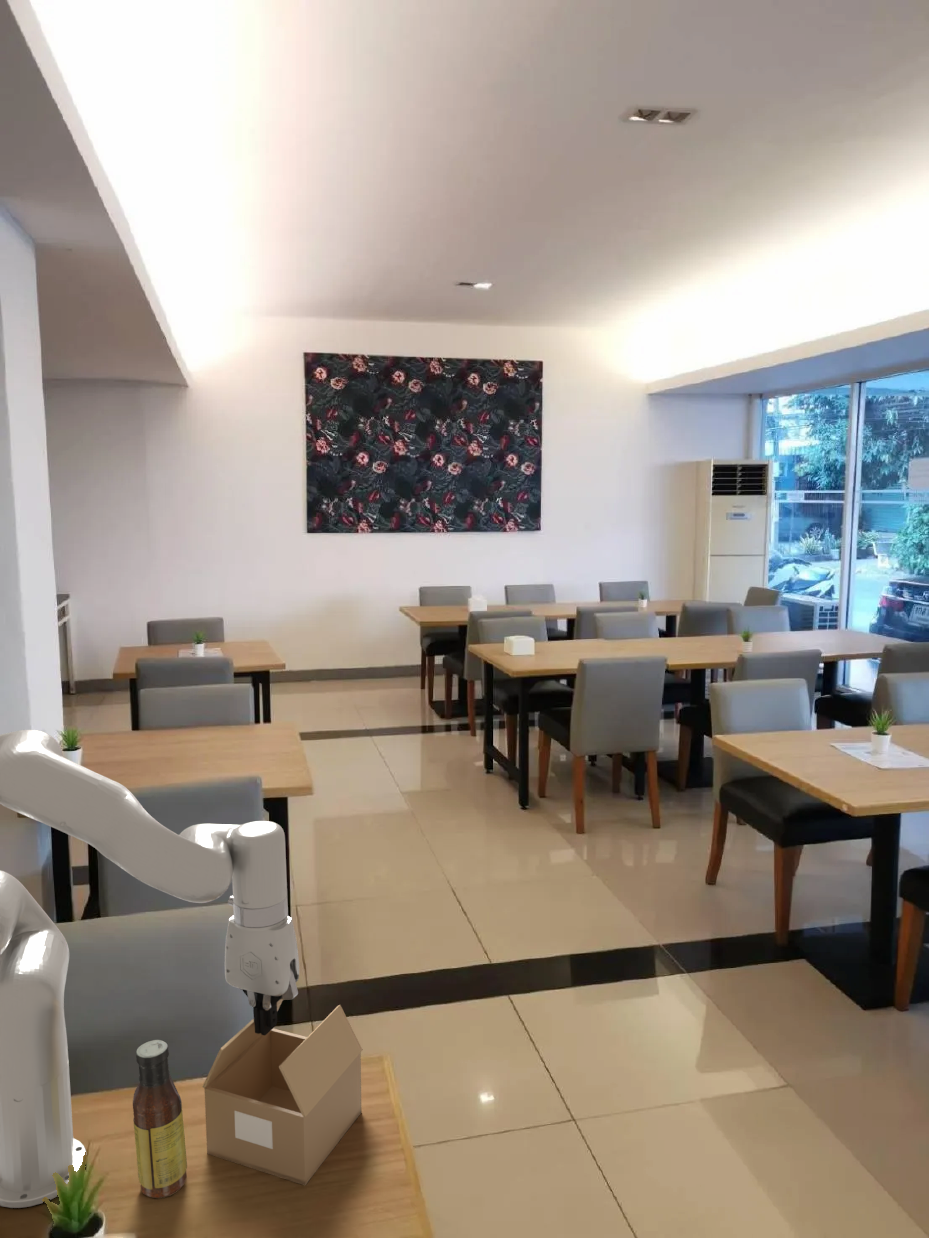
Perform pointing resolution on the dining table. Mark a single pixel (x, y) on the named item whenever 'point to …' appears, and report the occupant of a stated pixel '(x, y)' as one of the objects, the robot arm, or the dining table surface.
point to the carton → (276, 1112)
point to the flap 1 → (233, 1049)
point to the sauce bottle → (158, 1124)
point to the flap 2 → (320, 1060)
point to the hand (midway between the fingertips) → (265, 1029)
